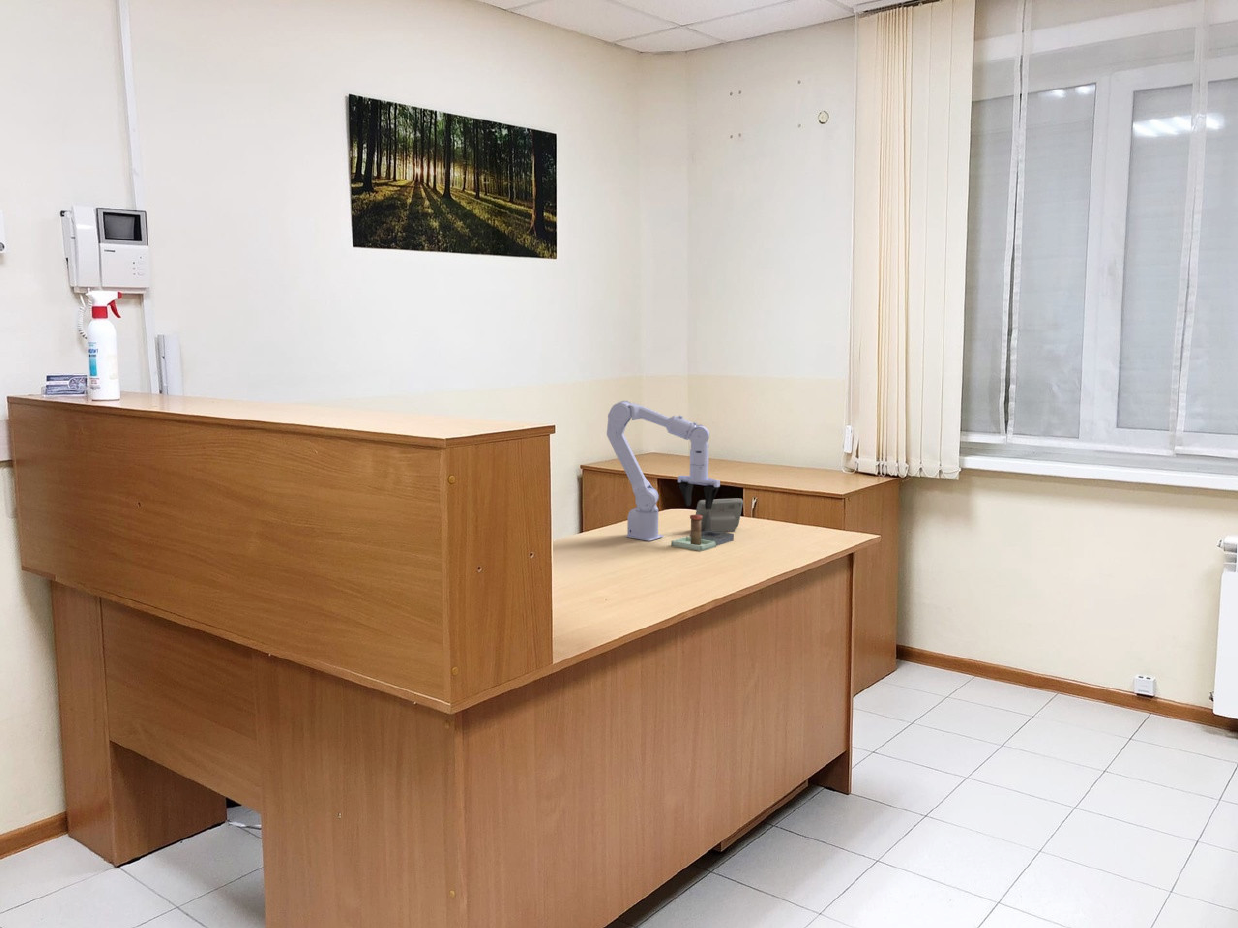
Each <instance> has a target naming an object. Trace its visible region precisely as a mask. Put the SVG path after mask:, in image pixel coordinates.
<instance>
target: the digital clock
mask: <svg viewBox="0 0 1238 928" xmlns="http://www.w3.org/2000/svg"><path fill="white" fill-rule="evenodd" d="M743 504H744V500H743V499H742V498H737V497H736V498H717V499H715V498H714V499H713V502H712V506H711V509H706V508H705V499H701V500H699V501H698V502H697V506H696V509H695V510H696V511H695V515H702V519H701V531H704V530H713V531H719V532H725V533H735V532H736V528H738V526H739V525H740V524H739V523H740V519H741V513H742V508H743Z"/></svg>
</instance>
